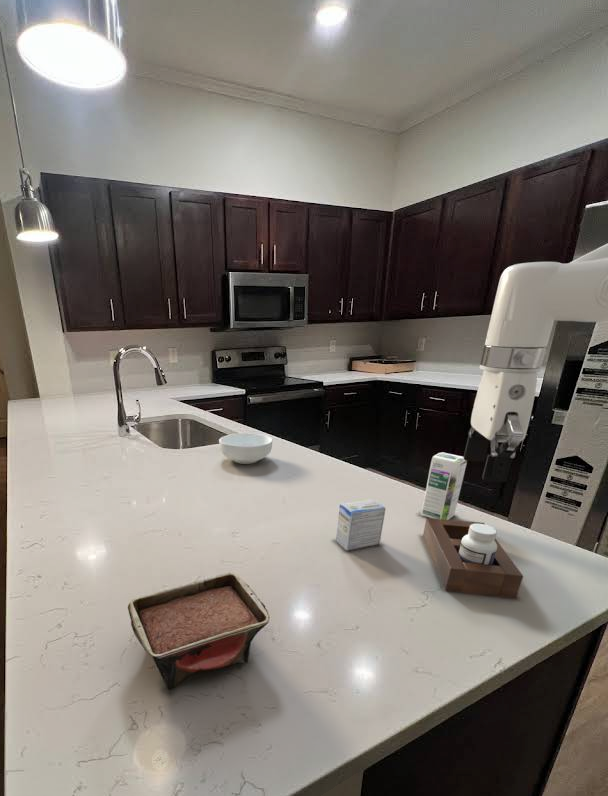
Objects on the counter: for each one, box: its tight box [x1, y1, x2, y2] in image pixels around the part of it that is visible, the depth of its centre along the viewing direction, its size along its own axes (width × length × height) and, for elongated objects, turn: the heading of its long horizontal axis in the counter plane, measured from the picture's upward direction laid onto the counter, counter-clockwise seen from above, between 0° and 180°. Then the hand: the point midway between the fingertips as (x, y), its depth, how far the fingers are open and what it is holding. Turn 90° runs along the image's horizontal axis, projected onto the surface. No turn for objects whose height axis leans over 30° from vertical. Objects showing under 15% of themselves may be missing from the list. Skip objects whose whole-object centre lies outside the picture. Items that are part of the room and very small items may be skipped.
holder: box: [422, 517, 524, 600], centre depth 78 cm, size 11×19×4 cm, turn 167°
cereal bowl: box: [218, 432, 273, 465], centre depth 134 cm, size 17×17×7 cm
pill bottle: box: [458, 523, 498, 565], centre depth 73 cm, size 5×5×10 cm
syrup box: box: [420, 451, 468, 520], centre depth 95 cm, size 6×6×14 cm
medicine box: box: [335, 498, 387, 551], centre depth 85 cm, size 8×4×9 cm, turn 108°
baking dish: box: [127, 572, 270, 691], centre depth 58 cm, size 14×18×10 cm
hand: (482, 470), depth 68 cm, fingers open, 9 cm apart
